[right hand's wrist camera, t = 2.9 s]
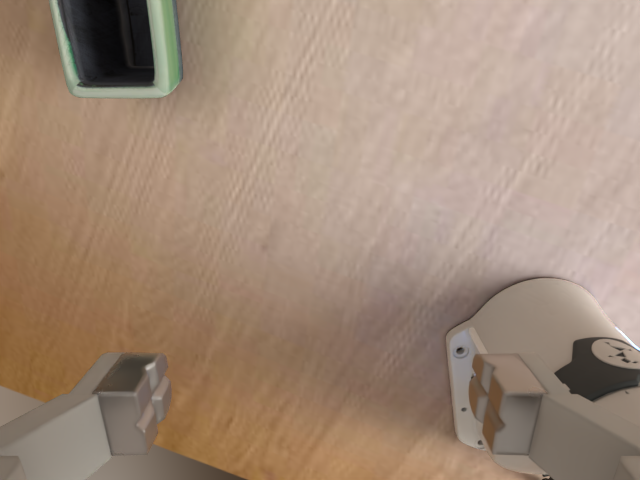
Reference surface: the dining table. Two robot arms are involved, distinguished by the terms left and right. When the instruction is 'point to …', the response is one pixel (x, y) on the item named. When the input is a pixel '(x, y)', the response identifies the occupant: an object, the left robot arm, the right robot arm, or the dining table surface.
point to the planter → (118, 47)
